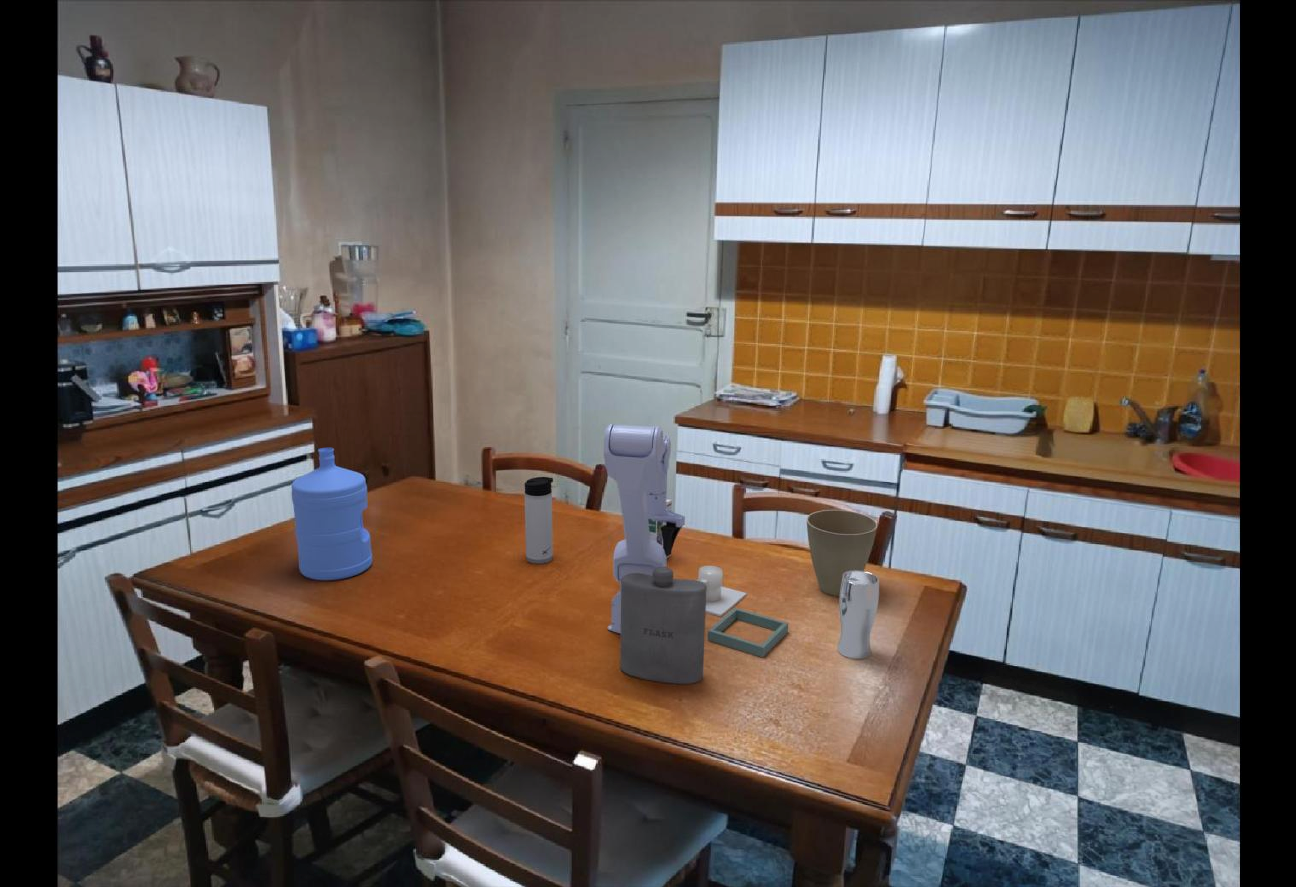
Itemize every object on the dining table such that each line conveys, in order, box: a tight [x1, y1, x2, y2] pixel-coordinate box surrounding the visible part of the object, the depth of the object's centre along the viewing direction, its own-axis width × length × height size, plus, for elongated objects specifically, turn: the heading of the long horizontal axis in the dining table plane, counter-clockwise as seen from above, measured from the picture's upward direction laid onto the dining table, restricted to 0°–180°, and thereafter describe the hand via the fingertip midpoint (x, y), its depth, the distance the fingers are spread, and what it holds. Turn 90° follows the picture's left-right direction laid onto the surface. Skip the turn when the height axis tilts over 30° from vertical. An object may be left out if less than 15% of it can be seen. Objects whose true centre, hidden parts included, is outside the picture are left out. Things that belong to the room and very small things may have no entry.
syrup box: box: [648, 499, 673, 559], centre depth 189 cm, size 6×6×14 cm
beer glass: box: [837, 570, 880, 660], centre depth 148 cm, size 7×7×15 cm
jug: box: [697, 565, 724, 602], centre depth 168 cm, size 7×5×6 cm
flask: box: [619, 566, 706, 685], centre depth 139 cm, size 15×6×20 cm, turn 76°
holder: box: [707, 607, 789, 658], centre depth 155 cm, size 12×12×2 cm
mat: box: [697, 579, 747, 618], centre depth 170 cm, size 12×12×1 cm
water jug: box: [291, 447, 373, 581], centre depth 179 cm, size 16×16×28 cm
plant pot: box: [806, 509, 878, 597], centre depth 174 cm, size 15×15×16 cm
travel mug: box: [524, 476, 554, 565], centre depth 186 cm, size 6×7×20 cm
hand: (651, 551), depth 171 cm, fingers open, 7 cm apart
